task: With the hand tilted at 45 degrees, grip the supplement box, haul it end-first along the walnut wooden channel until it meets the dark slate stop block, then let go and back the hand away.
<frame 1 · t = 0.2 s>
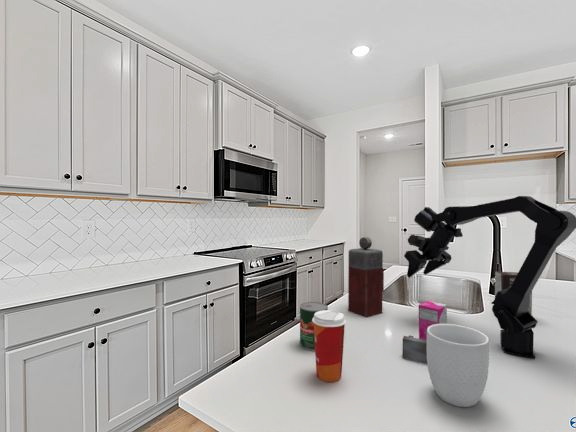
hand: (416, 275, 107), 15 cm above the countertop, tool tilted 35°, fingers open, 9 cm apart
paper cup: (328, 376, 69), on the countertop
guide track: (430, 354, 80), on the countertop
pepper mill: (367, 311, 114), on the countertop
canned tomato: (313, 345, 86), on the countertop
mug: (457, 396, 62), on the countertop
supplement box: (432, 345, 85), on the countertop
coffee box: (512, 319, 106), on the countertop
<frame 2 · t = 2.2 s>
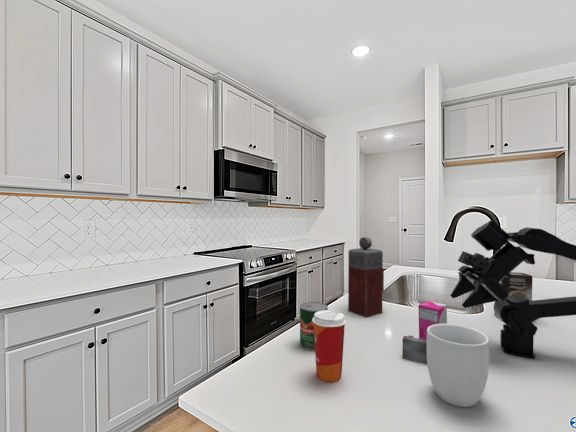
hand: (457, 301, 84), 12 cm above the countertop, tool tilted 45°, fingers open, 9 cm apart
nothing on the countertop moved.
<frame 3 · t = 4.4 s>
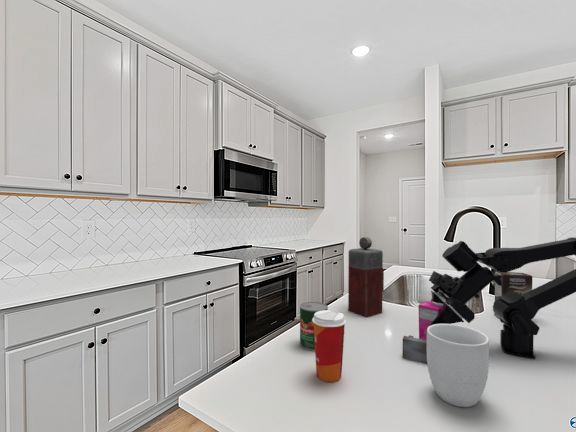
hand: (427, 320, 86), 7 cm above the countertop, tool tilted 45°, fingers closed on supplement box, 8 cm apart
supplement box: (432, 345, 85), on the countertop, touching gripper
everything else where it was.
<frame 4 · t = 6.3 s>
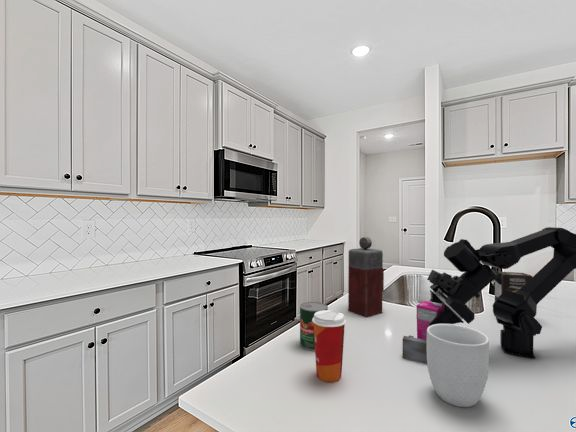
hand: (426, 321, 82), 8 cm above the countertop, tool tilted 45°, fingers closed on supplement box, 8 cm apart
supplement box: (431, 347, 82), point 1 cm above the countertop, touching gripper
everything else where it was.
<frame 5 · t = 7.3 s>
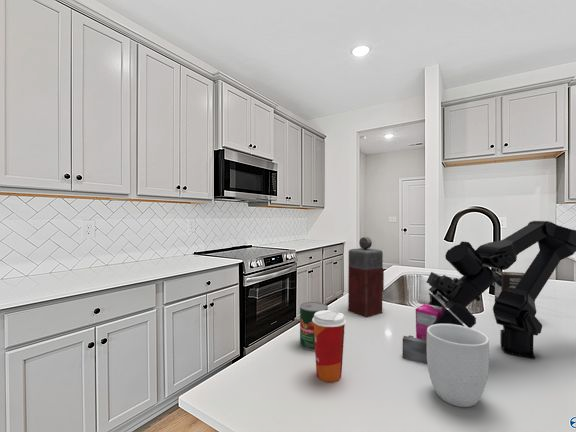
hand: (425, 325, 80), 7 cm above the countertop, tool tilted 45°, fingers closed on supplement box, 8 cm apart
supplement box: (431, 351, 80), point 1 cm above the countertop, touching gripper
everything else where it was.
when the fingers open (7 cm above the countertop, at t = 8.2 s): supplement box stays where it is, on the countertop.
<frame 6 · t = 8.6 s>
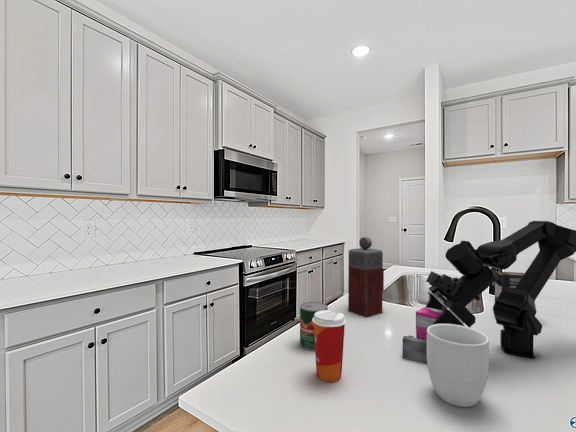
hand: (425, 324, 80), 8 cm above the countertop, tool tilted 45°, fingers open, 9 cm apart
supplement box: (431, 355, 80), on the countertop
everything else where it was.
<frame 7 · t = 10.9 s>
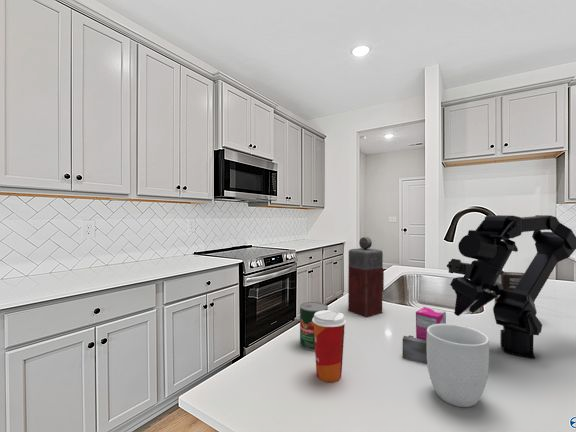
hand: (463, 313, 82), 10 cm above the countertop, tool tilted 20°, fingers open, 9 cm apart
nothing on the countertop moved.
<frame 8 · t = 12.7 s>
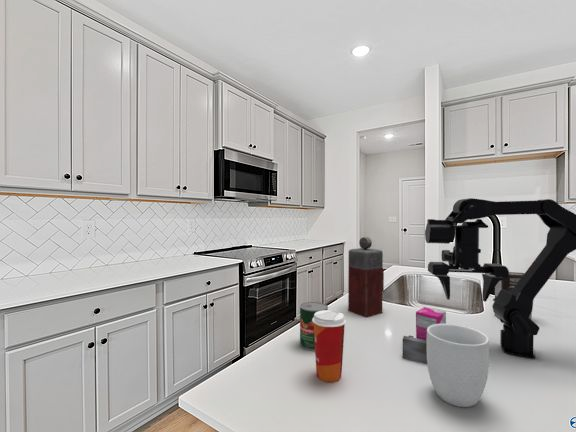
hand: (466, 300, 84), 13 cm above the countertop, tool pointing down, fingers open, 9 cm apart
nothing on the countertop moved.
at the end: supplement box 0.4 cm from the target spot, on the countertop; supplement box tilted 0°; the gripper is holding nothing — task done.
